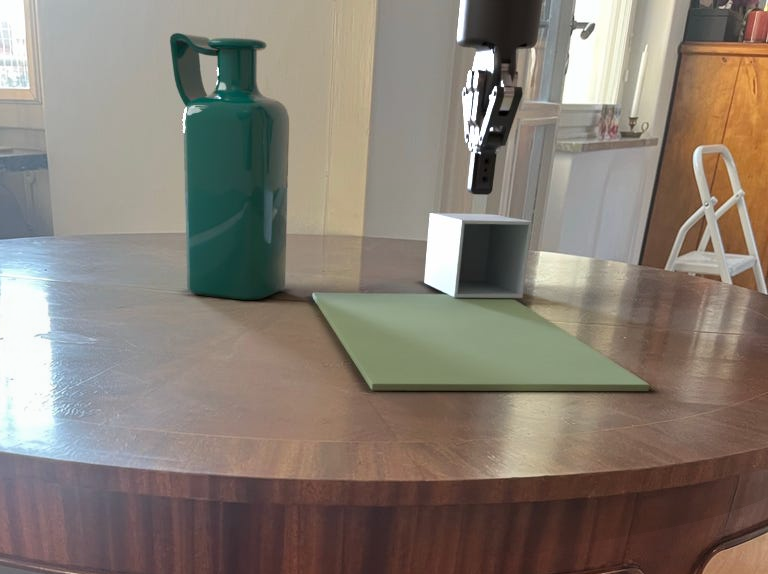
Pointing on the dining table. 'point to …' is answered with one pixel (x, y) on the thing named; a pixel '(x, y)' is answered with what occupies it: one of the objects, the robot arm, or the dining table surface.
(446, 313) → the mat
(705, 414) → the dining table surface
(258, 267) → the pitcher
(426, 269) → the bin
